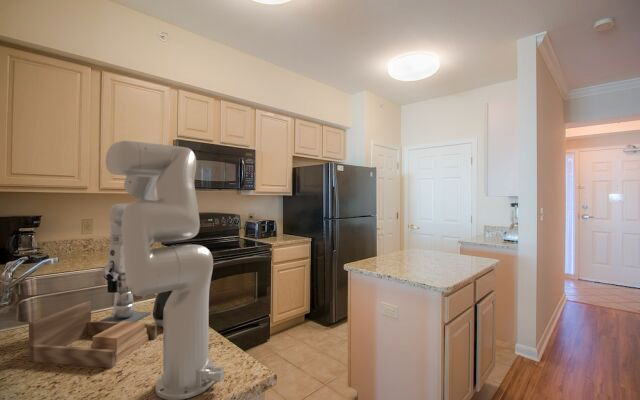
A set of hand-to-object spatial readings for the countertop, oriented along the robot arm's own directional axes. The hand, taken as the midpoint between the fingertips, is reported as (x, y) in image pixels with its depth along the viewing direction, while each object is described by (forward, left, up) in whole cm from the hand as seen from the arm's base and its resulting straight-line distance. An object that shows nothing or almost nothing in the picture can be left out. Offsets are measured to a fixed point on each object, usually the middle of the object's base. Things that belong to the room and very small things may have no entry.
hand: (123, 288), depth 107 cm
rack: (-9, +20, -11) cm, 24 cm away
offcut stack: (-16, +20, -11) cm, 27 cm away
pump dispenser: (-19, +2, -11) cm, 22 cm away
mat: (0, 0, -11) cm, 11 cm away
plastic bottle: (0, -1, -11) cm, 11 cm away
